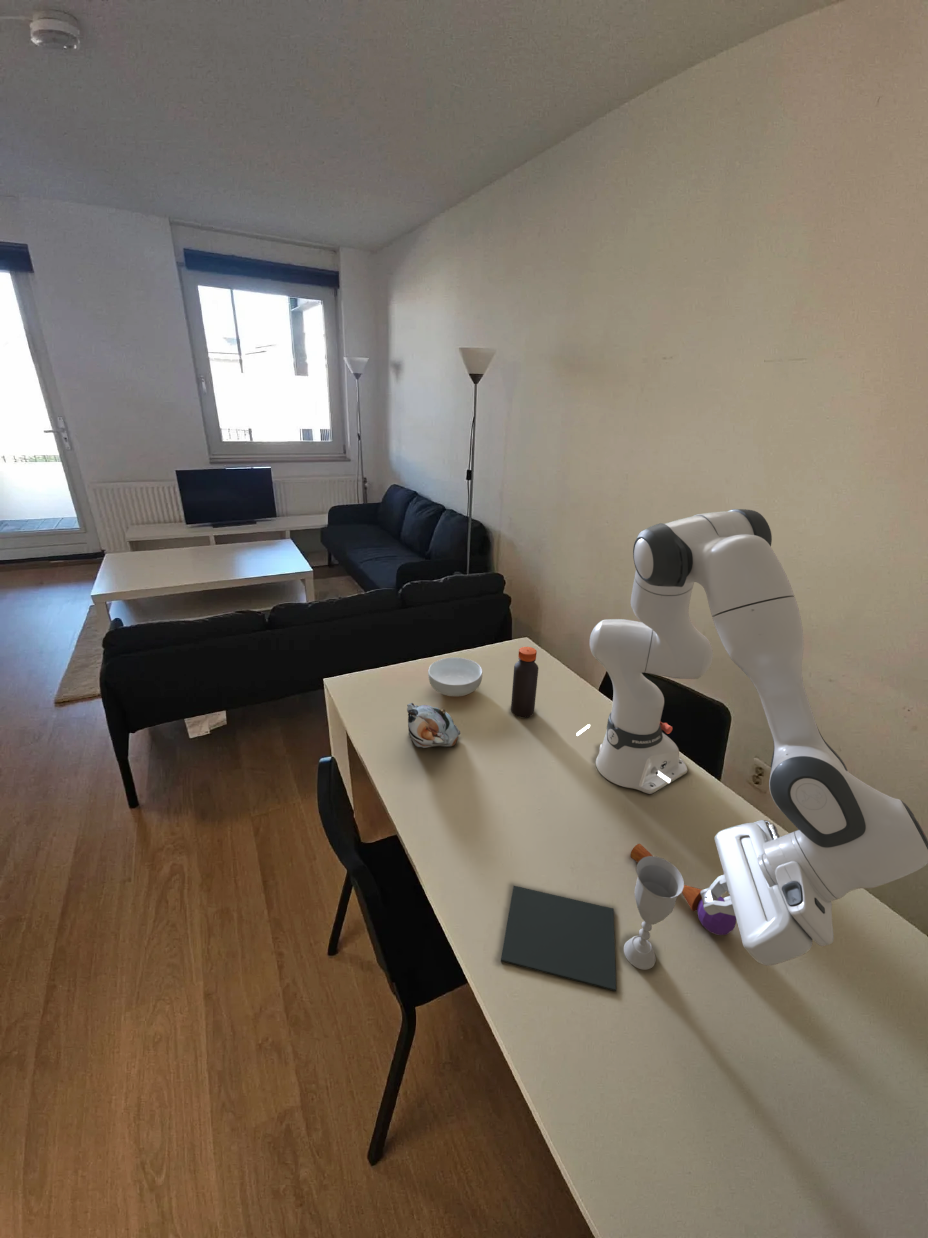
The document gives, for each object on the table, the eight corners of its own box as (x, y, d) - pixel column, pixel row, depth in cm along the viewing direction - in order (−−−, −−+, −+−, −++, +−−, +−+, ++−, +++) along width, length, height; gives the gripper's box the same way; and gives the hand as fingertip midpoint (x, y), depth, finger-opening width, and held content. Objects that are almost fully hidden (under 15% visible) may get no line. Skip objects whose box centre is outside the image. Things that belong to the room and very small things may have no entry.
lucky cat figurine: (469, 740, 134) (464, 716, 123) (433, 770, 130) (424, 747, 119) (435, 703, 142) (427, 677, 131) (400, 730, 138) (389, 705, 127)
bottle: (538, 711, 147) (544, 650, 139) (525, 721, 143) (531, 658, 135) (519, 702, 152) (524, 642, 144) (506, 711, 147) (510, 650, 139)
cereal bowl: (426, 676, 164) (427, 657, 161) (477, 675, 166) (478, 656, 163) (429, 705, 148) (429, 685, 146) (485, 703, 150) (486, 683, 148)
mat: (613, 910, 90) (613, 908, 90) (615, 991, 78) (616, 990, 78) (513, 887, 94) (513, 885, 94) (500, 961, 81) (500, 959, 81)
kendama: (648, 834, 101) (747, 907, 85) (641, 859, 103) (737, 935, 87) (629, 842, 98) (728, 919, 82) (622, 868, 99) (718, 949, 84)
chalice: (664, 981, 79) (688, 902, 72) (619, 971, 81) (639, 892, 73) (657, 937, 86) (679, 860, 79) (616, 928, 87) (633, 852, 80)
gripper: (759, 803, 79) (681, 836, 85) (809, 923, 61) (704, 955, 67) (783, 830, 80) (703, 861, 86) (838, 956, 62) (732, 985, 68)
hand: (704, 903), depth 76 cm, fingers closed
